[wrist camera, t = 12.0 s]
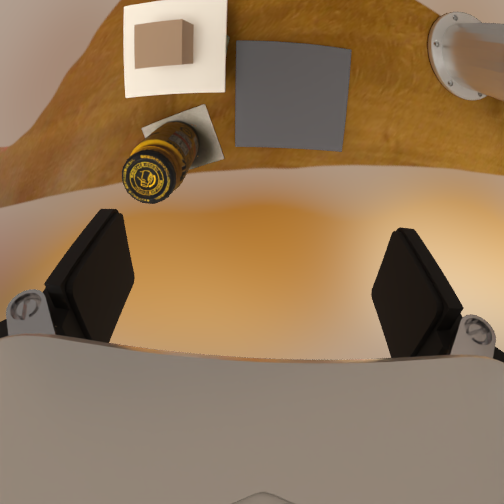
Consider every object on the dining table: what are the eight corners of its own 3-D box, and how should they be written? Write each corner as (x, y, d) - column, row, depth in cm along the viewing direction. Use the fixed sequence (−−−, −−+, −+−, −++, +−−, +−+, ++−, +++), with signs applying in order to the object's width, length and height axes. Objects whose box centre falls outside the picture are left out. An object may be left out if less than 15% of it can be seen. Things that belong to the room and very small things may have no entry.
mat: (350, 49, 29) (351, 49, 29) (340, 150, 37) (341, 151, 36) (236, 40, 29) (236, 40, 29) (235, 145, 37) (235, 146, 36)
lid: (227, -3, 22) (222, -16, 17) (225, 91, 28) (219, 98, 23) (126, 7, 22) (102, 0, 17) (128, 96, 27) (104, 106, 23)
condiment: (141, 128, 35) (101, 159, 25) (205, 103, 34) (184, 125, 24) (163, 178, 39) (134, 224, 29) (224, 157, 38) (213, 200, 28)
